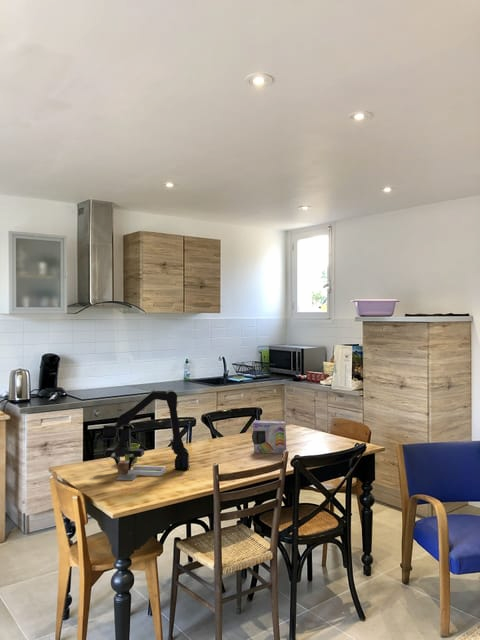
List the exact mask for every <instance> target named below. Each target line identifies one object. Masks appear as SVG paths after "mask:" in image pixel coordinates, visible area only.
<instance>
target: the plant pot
mask: <svg viewBox="0 0 480 640" xmlns="http://www.w3.org/2000/svg"><path fill="white" fill-rule="evenodd" d="M140 446H141V444H139V443H134V442H133V443H132V442H130V447H131V450H130V451H134V450H135V449H140ZM130 456H131V455H130V454H125V456H124V460H128V461H129V457H130ZM135 462H136V463H137V462H138V457H136V458H135V459H134V461H133V464H135Z"/></svg>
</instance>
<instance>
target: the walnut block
mask: <svg viewBox="0 0 480 640" xmlns="http://www.w3.org/2000/svg"><path fill="white" fill-rule="evenodd" d="M128 470H129V461H128V460H125V459H124V460H123V459H120V462H119V463H118V467H117V474H128ZM130 470H132V468H131V469H130Z"/></svg>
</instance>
